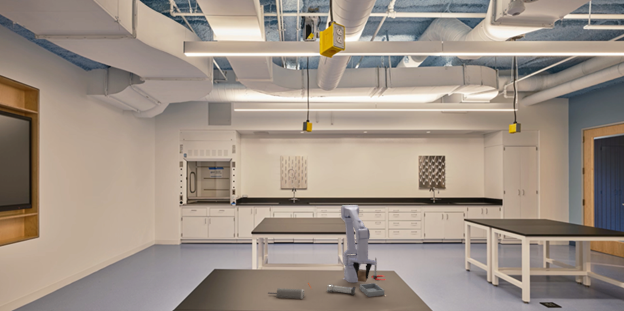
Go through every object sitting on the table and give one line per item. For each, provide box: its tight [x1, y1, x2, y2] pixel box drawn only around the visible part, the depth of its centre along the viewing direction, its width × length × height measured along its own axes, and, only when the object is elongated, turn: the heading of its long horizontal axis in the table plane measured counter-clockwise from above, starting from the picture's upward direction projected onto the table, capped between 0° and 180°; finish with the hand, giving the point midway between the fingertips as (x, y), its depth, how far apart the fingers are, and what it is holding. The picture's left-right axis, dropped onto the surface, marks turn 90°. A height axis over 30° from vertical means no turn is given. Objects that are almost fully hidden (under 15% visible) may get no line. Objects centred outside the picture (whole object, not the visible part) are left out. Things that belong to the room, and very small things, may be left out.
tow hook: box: [371, 257, 387, 281], centre depth 202 cm, size 8×13×9 cm
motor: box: [267, 282, 313, 300], centre depth 183 cm, size 23×22×5 cm
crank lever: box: [326, 283, 356, 296], centre depth 179 cm, size 15×4×3 cm, turn 71°
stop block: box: [358, 268, 368, 283], centre depth 179 cm, size 4×4×5 cm
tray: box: [359, 282, 385, 297], centre depth 180 cm, size 11×9×2 cm
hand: (362, 277), depth 179 cm, fingers closed on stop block, 4 cm apart
